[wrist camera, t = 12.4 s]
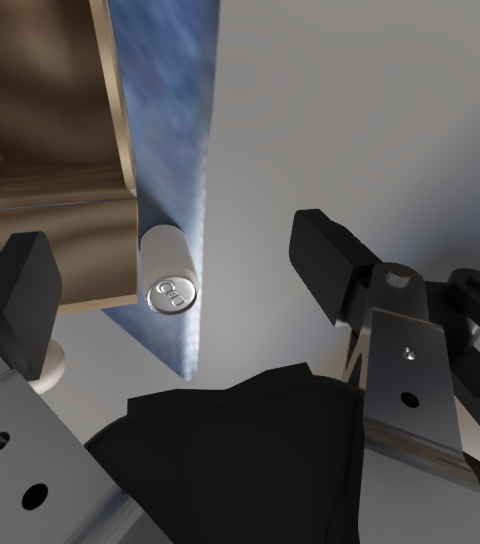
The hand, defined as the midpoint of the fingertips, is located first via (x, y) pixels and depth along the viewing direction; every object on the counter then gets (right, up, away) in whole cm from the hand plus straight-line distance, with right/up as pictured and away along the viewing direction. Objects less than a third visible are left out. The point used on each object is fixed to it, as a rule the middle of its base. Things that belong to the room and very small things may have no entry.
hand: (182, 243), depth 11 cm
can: (-9, +3, +34) cm, 36 cm away
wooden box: (-17, +17, +21) cm, 32 cm away
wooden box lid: (-12, +1, +12) cm, 17 cm away
